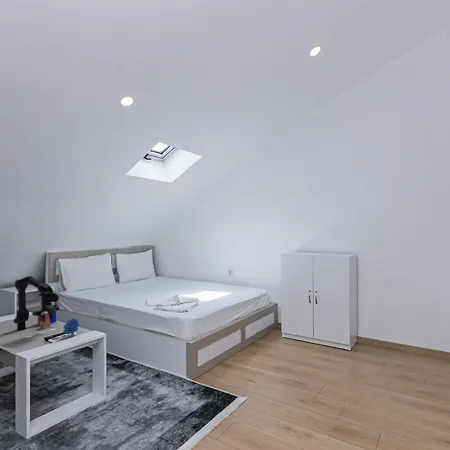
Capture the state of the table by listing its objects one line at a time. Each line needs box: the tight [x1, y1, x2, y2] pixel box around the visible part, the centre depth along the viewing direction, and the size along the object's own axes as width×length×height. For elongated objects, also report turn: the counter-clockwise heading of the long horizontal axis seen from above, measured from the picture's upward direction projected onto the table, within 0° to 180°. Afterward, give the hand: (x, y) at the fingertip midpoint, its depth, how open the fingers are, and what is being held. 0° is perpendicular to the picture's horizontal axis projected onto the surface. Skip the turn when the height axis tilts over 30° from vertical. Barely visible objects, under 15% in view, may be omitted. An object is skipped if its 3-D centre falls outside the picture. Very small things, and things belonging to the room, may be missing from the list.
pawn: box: [44, 313, 50, 324], centre depth 265 cm, size 4×4×8 cm
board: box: [26, 327, 56, 338], centre depth 261 cm, size 6×22×1 cm, turn 150°
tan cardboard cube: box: [39, 322, 51, 330], centre depth 274 cm, size 5×5×5 cm
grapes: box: [62, 317, 81, 335], centre depth 257 cm, size 12×7×12 cm, turn 132°
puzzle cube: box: [37, 310, 57, 326], centre depth 289 cm, size 10×10×10 cm
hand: (46, 322), depth 265 cm, fingers closed on pawn, 4 cm apart
